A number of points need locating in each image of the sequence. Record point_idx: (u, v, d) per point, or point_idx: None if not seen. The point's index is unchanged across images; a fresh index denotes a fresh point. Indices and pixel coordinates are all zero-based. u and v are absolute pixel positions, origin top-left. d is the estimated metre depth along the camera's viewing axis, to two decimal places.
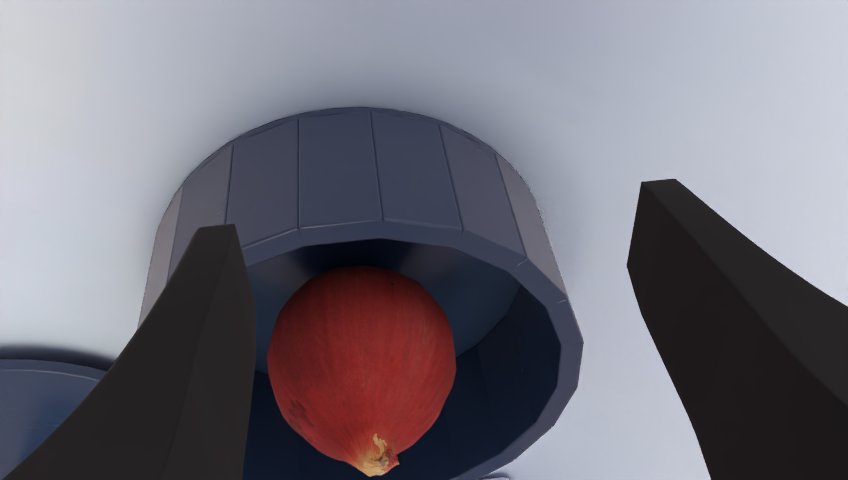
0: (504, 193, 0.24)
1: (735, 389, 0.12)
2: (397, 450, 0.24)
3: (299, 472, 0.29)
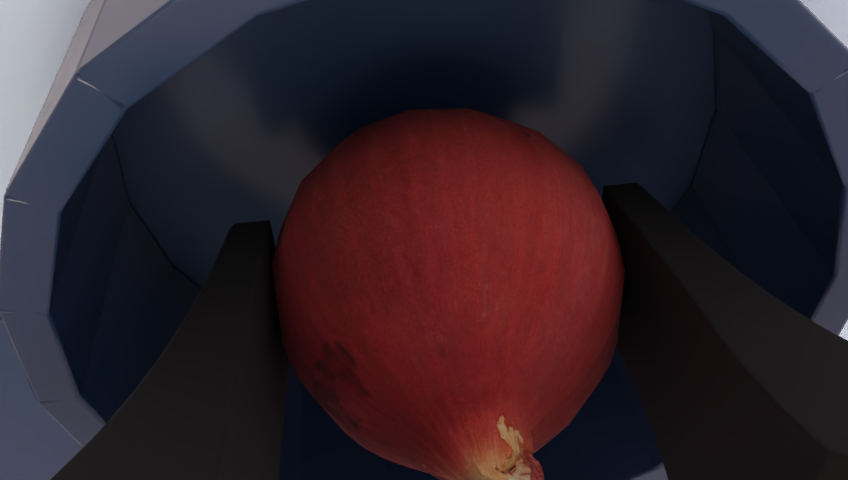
0: None
1: (689, 394, 0.12)
2: None
3: None
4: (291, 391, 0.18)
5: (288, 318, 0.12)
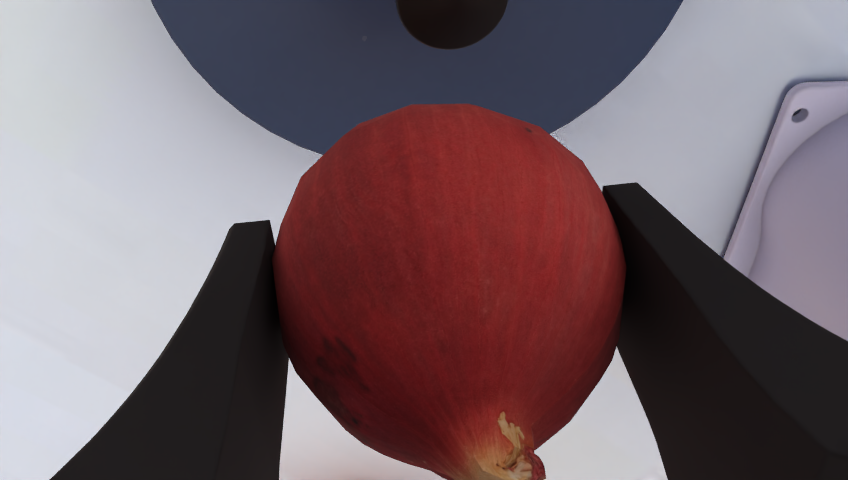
0: None
1: (689, 394, 0.12)
2: None
3: None
4: None
5: (288, 314, 0.12)
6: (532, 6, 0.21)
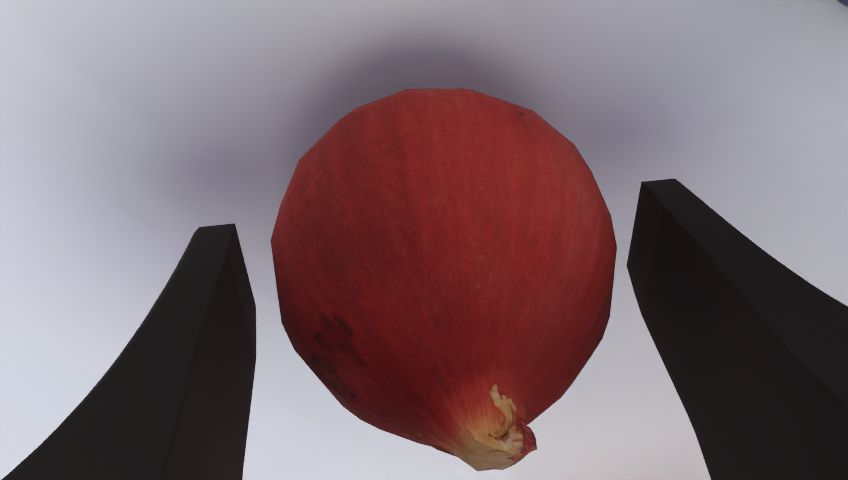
0: None
1: (735, 388, 0.12)
2: None
3: None
4: None
5: (287, 292, 0.13)
6: None
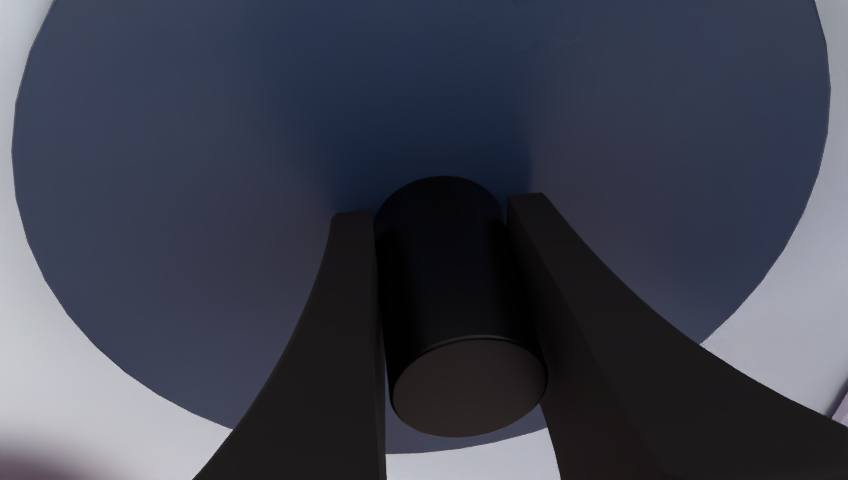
0: None
1: (573, 408, 0.11)
2: None
3: None
4: None
5: None
6: None
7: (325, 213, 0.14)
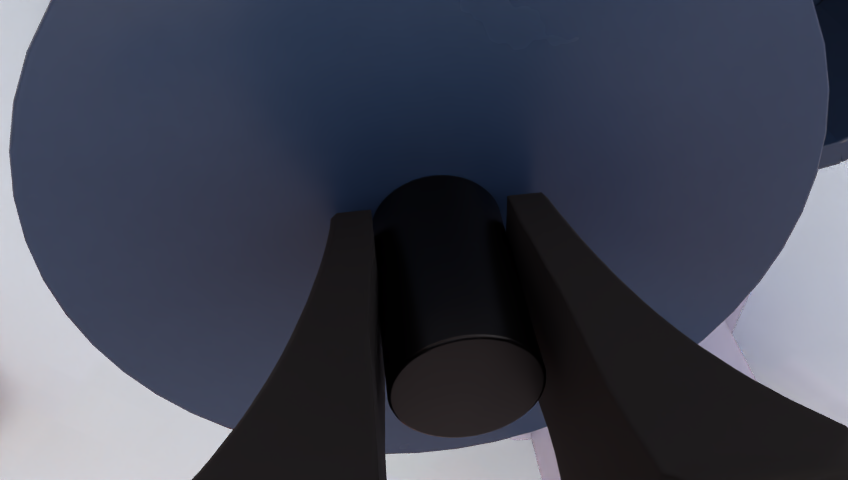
0: None
1: (573, 408, 0.11)
2: None
3: None
4: None
5: None
6: None
7: (323, 212, 0.14)
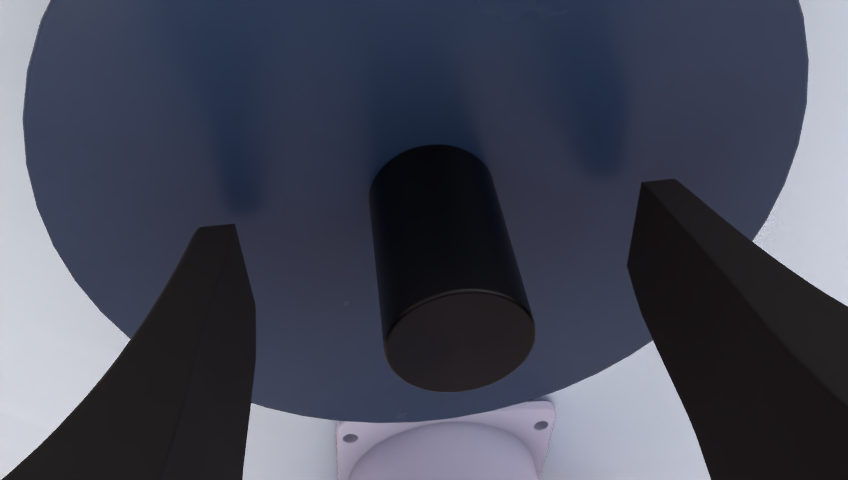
0: None
1: (735, 389, 0.12)
2: None
3: None
4: None
5: None
6: (557, 265, 0.17)
7: (323, 181, 0.15)
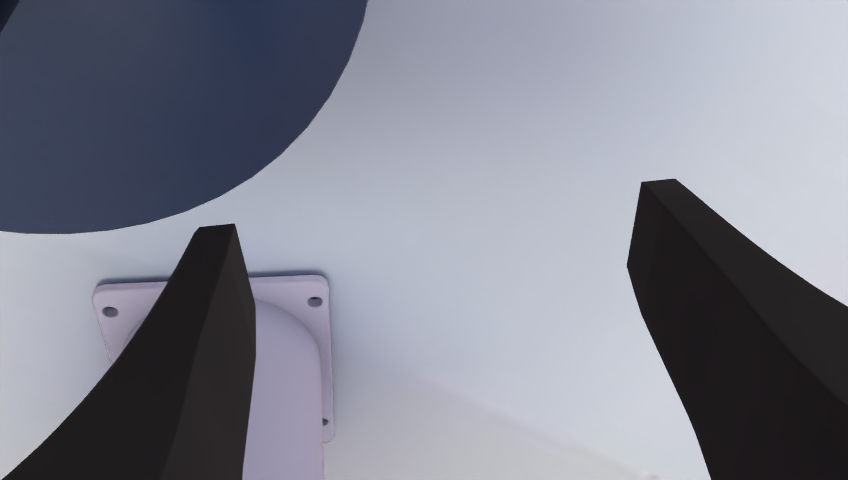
0: None
1: (736, 389, 0.12)
2: None
3: None
4: None
5: None
6: (152, 29, 0.16)
7: None
